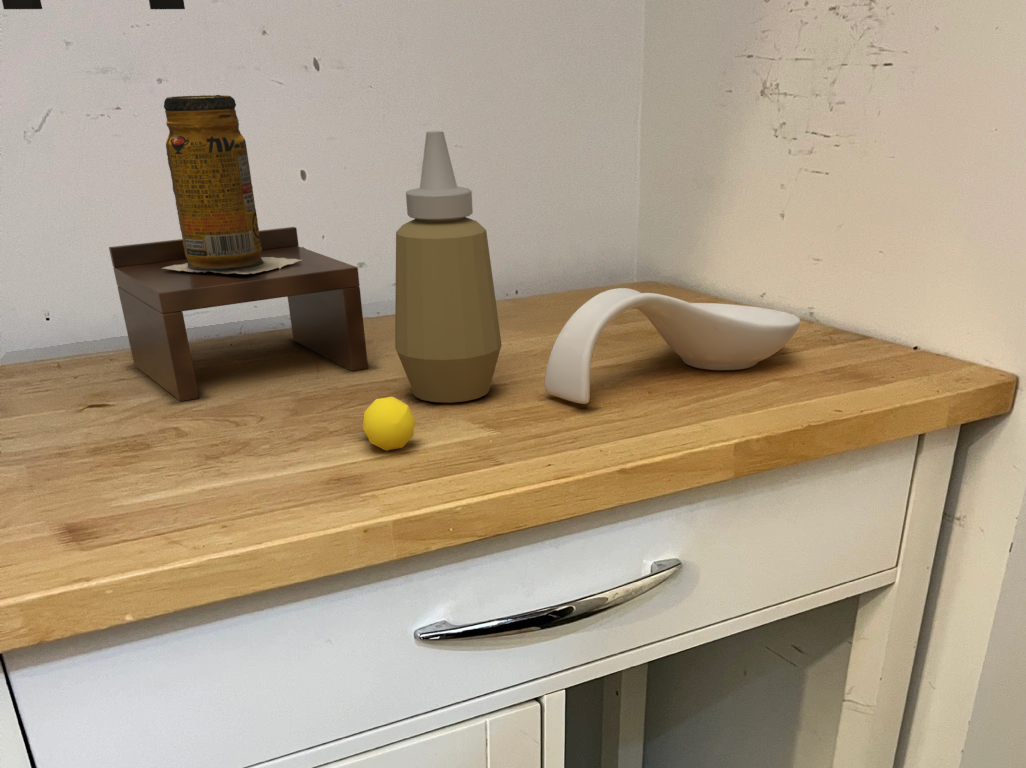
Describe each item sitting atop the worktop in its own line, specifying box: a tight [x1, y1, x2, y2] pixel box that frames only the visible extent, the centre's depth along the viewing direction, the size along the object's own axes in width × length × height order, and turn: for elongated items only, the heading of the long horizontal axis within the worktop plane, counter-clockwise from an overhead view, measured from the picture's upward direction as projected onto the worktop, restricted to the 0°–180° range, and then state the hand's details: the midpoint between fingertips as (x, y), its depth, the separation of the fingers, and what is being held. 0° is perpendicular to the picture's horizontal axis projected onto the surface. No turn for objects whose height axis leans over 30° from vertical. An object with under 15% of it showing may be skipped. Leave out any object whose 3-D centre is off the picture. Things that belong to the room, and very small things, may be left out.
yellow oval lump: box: [362, 396, 416, 452], centre depth 74 cm, size 3×6×4 cm, turn 26°
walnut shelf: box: [108, 226, 369, 402], centre depth 90 cm, size 16×13×10 cm
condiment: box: [162, 94, 301, 274], centre depth 85 cm, size 7×8×12 cm
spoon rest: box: [543, 287, 801, 405], centre depth 86 cm, size 24×12×7 cm, turn 130°
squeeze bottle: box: [394, 130, 502, 404], centre depth 80 cm, size 8×8×18 cm
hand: (100, 10), depth 77 cm, fingers open, 13 cm apart
